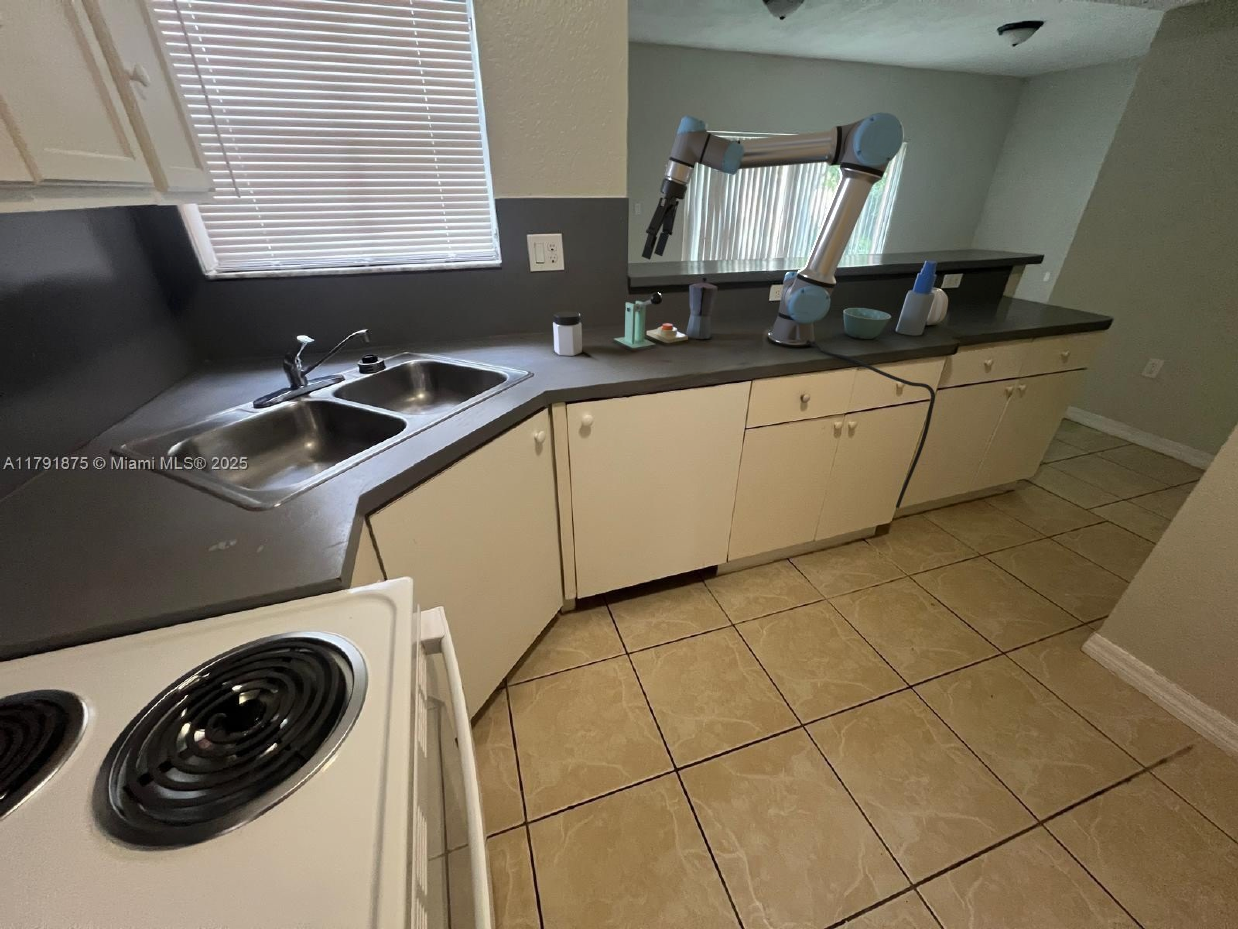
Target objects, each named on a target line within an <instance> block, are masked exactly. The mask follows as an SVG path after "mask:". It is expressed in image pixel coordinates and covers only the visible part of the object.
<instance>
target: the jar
mask: <svg viewBox="0 0 1238 929" xmlns="http://www.w3.org/2000/svg"><path fill="white" fill-rule="evenodd" d="M582 324H583V323H581V314H580V313H579V312H578V311H571V310H562V311H557V312H555V313H554V314H553V322H552V328H553V347H554V348H553V349H554V352H555V353H556V354H557V355H559V356H565V357H566V356H569V357H574V356H576V355H579V354H581V353H583V329H582V328H583V327H582V326H583V325H582Z"/></svg>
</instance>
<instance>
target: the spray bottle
mask: <svg viewBox="0 0 1238 929" xmlns="http://www.w3.org/2000/svg"><path fill="white" fill-rule="evenodd" d="M937 265H938V261H935V260H925V261H924V264H923V267H922V268H921V270H920V272H918V273H917V275H916V279H915V282H914V285H913V287H912V288H913V289H910V290H908V292H907V293H906V295H905V299H904V302H903V306H902V309H901V312H900V315H899V319H898V322H897V326H896V328H895V332H896V333H898V334H902V335H906V336H921V335H923V332H924V330H925V326H926V325H925V324H926V321H927V318H928V315H929V312H930V309H931V306H932V303H933V300H934V297H935V296H934V295H935V293H933V292H931V291H932V288H934V285H935V282H936V279H937V274H936V271H937Z"/></svg>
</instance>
